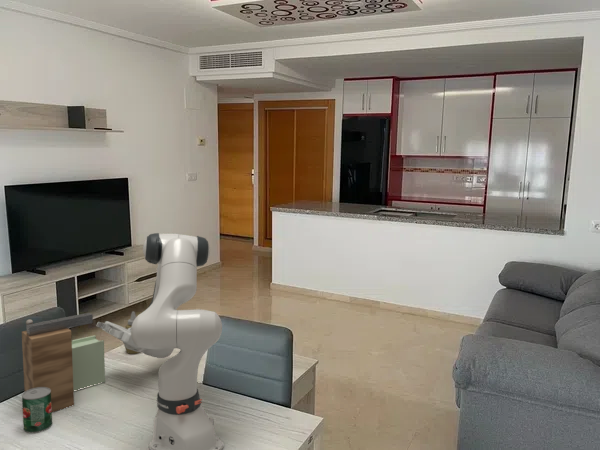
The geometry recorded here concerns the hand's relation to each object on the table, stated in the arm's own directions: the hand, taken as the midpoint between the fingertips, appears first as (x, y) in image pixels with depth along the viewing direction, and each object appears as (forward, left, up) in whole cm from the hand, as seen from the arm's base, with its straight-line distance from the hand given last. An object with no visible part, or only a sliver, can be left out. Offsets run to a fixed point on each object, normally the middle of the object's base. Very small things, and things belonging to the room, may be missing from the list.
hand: (103, 327), depth 172 cm
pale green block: (+9, +5, -23) cm, 25 cm away
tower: (0, +19, -23) cm, 30 cm away
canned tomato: (-11, +26, -23) cm, 36 cm away
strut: (0, +14, +3) cm, 15 cm away
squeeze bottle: (+26, -24, -23) cm, 43 cm away
